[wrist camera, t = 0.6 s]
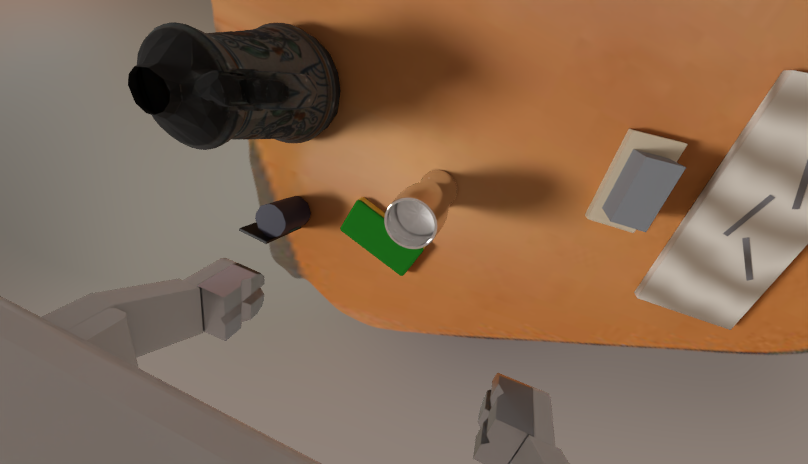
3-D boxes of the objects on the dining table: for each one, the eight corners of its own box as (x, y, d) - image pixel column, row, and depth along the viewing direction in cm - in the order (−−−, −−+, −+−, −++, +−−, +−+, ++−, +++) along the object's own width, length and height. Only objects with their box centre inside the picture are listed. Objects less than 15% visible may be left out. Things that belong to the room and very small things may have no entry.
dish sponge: (363, 195, 58) (357, 199, 56) (427, 243, 57) (424, 250, 55) (345, 224, 61) (339, 229, 59) (406, 270, 61) (401, 277, 59)
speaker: (298, 236, 65) (262, 255, 55) (277, 216, 65) (237, 231, 55) (319, 209, 62) (284, 225, 52) (296, 188, 62) (258, 199, 52)
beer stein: (235, 61, 55) (47, 48, 33) (324, -11, 46) (149, -93, 25) (287, 155, 59) (148, 198, 37) (377, 104, 50) (266, 121, 29)
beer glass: (469, 182, 51) (450, 217, 38) (445, 218, 54) (420, 261, 41) (430, 158, 51) (398, 184, 38) (409, 195, 54) (373, 230, 41)
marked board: (783, 70, 35) (793, 70, 34) (921, 98, 33) (938, 99, 32) (634, 292, 49) (637, 298, 48) (724, 322, 47) (730, 330, 46)
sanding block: (628, 128, 42) (646, 136, 36) (680, 141, 41) (708, 151, 35) (584, 213, 47) (593, 233, 41) (629, 227, 46) (645, 249, 40)
